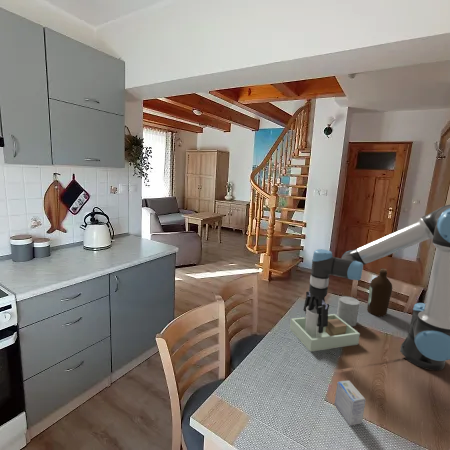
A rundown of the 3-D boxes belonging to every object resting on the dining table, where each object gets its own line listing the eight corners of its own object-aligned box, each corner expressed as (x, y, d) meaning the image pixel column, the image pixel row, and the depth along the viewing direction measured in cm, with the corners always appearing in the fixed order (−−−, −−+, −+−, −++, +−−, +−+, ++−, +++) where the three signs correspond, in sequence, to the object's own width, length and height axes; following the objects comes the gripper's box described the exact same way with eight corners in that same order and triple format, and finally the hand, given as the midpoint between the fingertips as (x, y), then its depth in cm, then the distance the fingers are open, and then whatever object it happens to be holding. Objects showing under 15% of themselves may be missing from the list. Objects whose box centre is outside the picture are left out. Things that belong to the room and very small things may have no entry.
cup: (322, 332, 125) (326, 308, 123) (321, 341, 118) (324, 316, 116) (305, 327, 129) (307, 303, 126) (302, 336, 121) (305, 311, 119)
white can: (358, 329, 134) (362, 306, 132) (337, 326, 136) (341, 303, 133) (353, 319, 143) (356, 297, 141) (334, 316, 145) (337, 294, 143)
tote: (357, 345, 121) (359, 333, 120) (310, 353, 114) (311, 340, 113) (333, 324, 137) (334, 313, 136) (289, 330, 130) (291, 318, 129)
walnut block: (344, 337, 125) (346, 325, 124) (333, 339, 123) (335, 327, 122) (336, 330, 131) (337, 318, 130) (325, 331, 129) (326, 320, 128)
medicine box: (362, 424, 83) (366, 399, 81) (349, 426, 82) (353, 401, 80) (345, 402, 90) (349, 379, 88) (333, 404, 89) (337, 381, 87)
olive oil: (387, 311, 154) (395, 268, 149) (387, 319, 145) (395, 274, 140) (366, 305, 159) (373, 264, 154) (365, 313, 150) (372, 269, 145)
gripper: (341, 294, 110) (334, 345, 115) (312, 275, 129) (307, 320, 134) (325, 296, 108) (319, 348, 113) (298, 276, 127) (293, 321, 132)
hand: (312, 333), depth 123 cm, fingers closed on cup, 7 cm apart
